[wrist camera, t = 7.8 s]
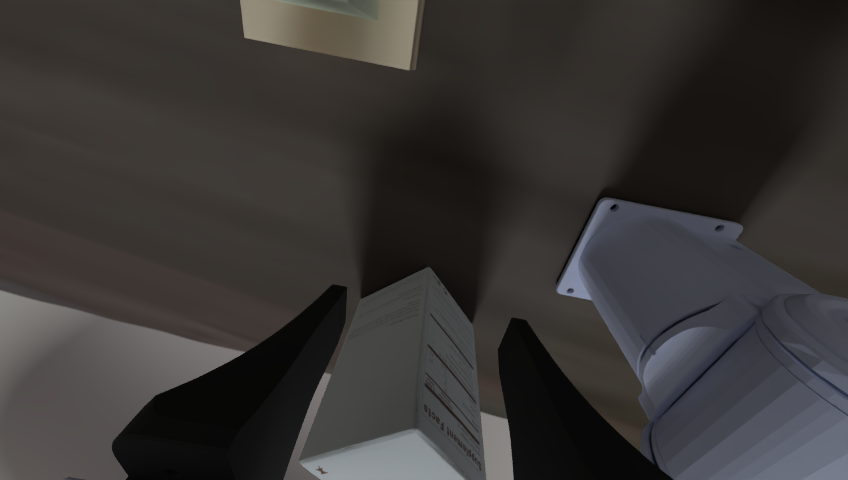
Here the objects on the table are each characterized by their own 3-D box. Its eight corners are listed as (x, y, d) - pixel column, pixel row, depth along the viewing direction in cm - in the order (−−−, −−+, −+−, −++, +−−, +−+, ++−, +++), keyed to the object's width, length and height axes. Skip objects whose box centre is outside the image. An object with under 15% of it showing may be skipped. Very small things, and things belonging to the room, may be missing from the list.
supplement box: (405, 350, 29) (377, 523, 18) (358, 297, 26) (290, 464, 15) (475, 324, 27) (492, 505, 16) (432, 262, 24) (414, 431, 13)
